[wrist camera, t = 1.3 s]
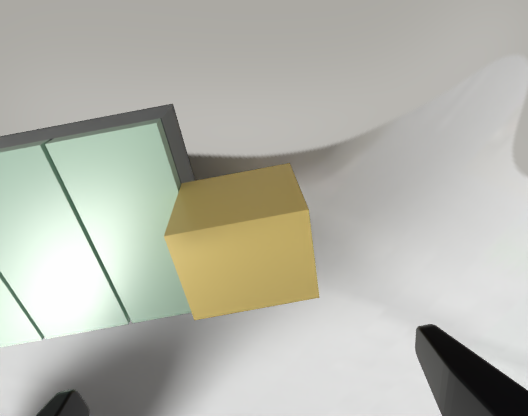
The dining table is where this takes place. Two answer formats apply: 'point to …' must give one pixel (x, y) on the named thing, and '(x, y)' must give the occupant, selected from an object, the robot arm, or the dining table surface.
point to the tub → (162, 112)
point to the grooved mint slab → (141, 236)
